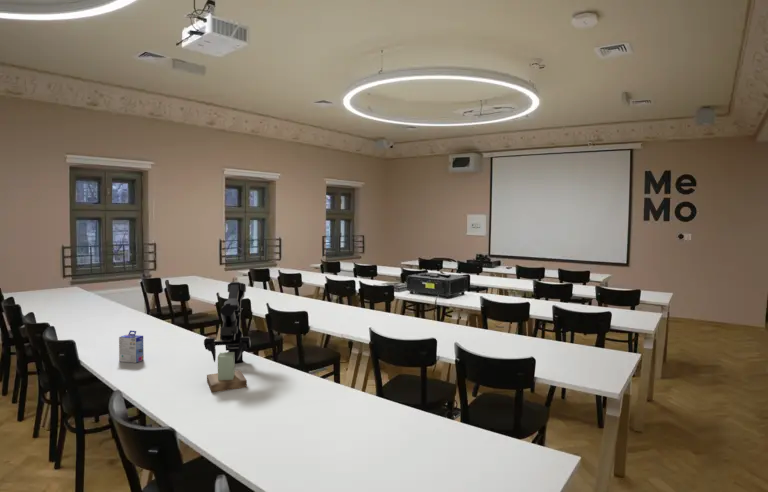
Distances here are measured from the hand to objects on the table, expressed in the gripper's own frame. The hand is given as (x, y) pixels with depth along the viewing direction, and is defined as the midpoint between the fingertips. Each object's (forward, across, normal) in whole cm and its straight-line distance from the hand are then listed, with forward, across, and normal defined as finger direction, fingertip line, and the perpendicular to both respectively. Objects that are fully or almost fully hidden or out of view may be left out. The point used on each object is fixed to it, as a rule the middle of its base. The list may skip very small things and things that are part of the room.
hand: (225, 361), depth 201 cm
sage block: (+4, 0, +6) cm, 8 cm away
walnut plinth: (+6, 0, +8) cm, 11 cm away
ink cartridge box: (-21, -50, +36) cm, 65 cm away
